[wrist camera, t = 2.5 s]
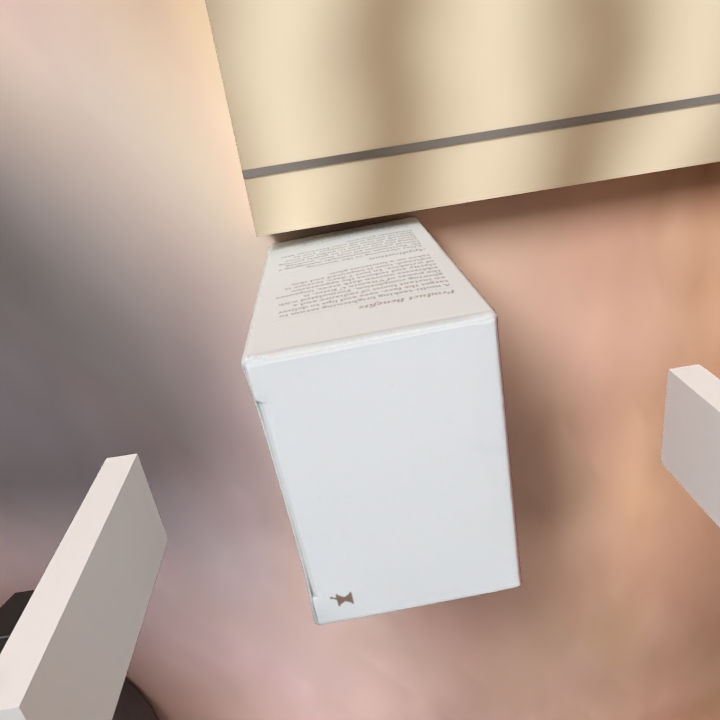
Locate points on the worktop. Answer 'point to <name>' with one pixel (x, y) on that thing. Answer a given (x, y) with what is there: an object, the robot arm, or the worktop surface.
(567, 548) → the worktop surface
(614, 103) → the board
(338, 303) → the small box
